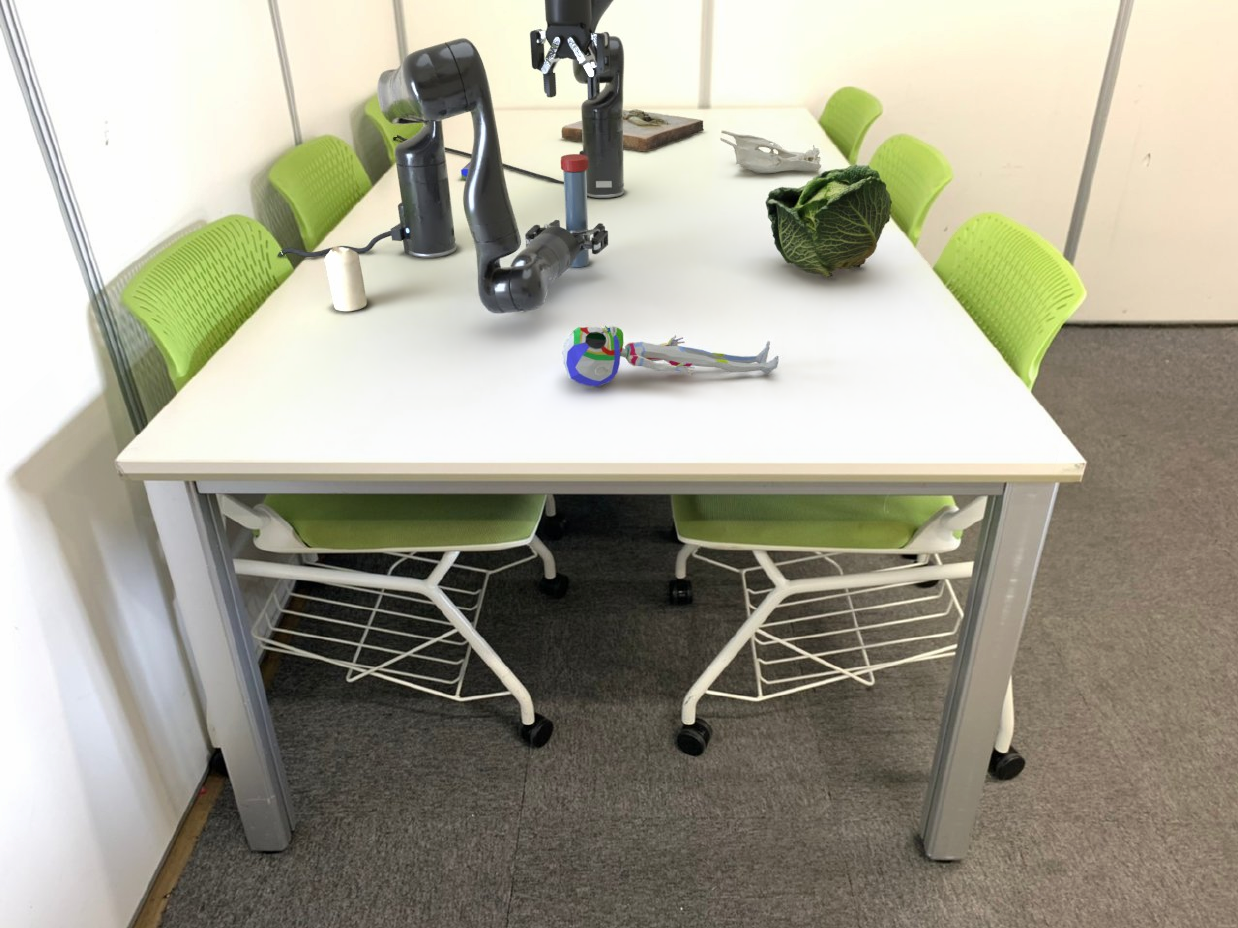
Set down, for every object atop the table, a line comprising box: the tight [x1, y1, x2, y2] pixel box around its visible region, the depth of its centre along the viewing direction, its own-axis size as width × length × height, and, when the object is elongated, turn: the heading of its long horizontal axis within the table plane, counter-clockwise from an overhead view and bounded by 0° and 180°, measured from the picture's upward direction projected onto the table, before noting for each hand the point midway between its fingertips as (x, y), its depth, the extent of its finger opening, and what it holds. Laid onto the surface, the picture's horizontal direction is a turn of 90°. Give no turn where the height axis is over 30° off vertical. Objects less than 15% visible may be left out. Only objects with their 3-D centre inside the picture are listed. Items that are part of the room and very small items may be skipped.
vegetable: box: [765, 164, 893, 278], centre depth 160 cm, size 20×19×20 cm
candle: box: [324, 246, 368, 312], centre depth 150 cm, size 6×6×10 cm
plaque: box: [561, 108, 705, 152], centre depth 257 cm, size 30×7×30 cm
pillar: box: [460, 161, 470, 180], centre depth 228 cm, size 2×2×20 cm
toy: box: [561, 325, 780, 387], centre depth 127 cm, size 10×8×30 cm
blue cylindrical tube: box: [562, 170, 590, 268], centre depth 164 cm, size 4×4×19 cm
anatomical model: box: [720, 130, 822, 174], centre depth 222 cm, size 15×9×25 cm
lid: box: [560, 153, 588, 172], centre depth 159 cm, size 5×5×2 cm
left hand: (579, 226), depth 167 cm, fingers open, 8 cm apart
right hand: (571, 98), depth 154 cm, fingers open, 7 cm apart
